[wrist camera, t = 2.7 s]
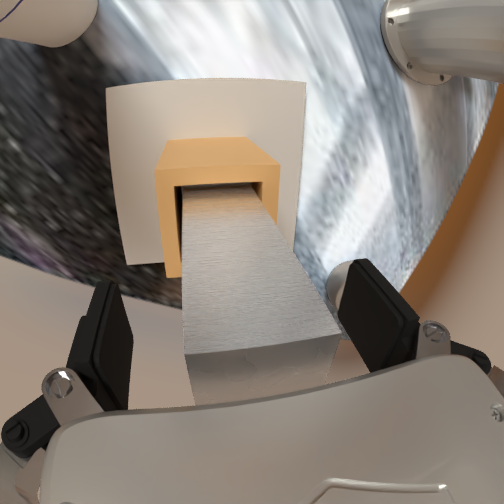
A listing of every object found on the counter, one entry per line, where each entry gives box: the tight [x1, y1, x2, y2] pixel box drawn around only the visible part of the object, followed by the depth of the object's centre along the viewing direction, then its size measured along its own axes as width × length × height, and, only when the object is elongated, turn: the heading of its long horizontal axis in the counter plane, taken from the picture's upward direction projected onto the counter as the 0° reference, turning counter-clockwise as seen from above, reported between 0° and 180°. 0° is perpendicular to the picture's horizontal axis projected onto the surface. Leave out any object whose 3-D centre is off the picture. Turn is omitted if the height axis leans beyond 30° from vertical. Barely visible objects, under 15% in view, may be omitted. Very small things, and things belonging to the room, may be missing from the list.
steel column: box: [182, 182, 342, 406], centre depth 17 cm, size 4×4×22 cm
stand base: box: [106, 78, 306, 278], centre depth 22 cm, size 18×18×13 cm
